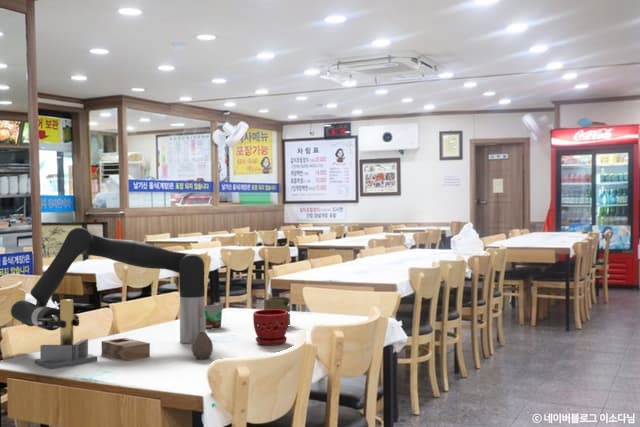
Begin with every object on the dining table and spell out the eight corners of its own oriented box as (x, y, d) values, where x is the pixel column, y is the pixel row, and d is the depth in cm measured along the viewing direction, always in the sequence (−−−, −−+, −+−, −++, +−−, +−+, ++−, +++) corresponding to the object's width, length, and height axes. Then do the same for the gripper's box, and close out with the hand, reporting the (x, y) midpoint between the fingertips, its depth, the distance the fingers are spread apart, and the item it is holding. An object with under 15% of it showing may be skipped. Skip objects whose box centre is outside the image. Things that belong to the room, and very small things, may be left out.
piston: (258, 299, 289) (274, 296, 299) (258, 326, 289) (274, 323, 299) (279, 300, 283) (295, 297, 293) (279, 329, 283) (295, 325, 293)
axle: (75, 353, 223) (75, 299, 223) (71, 356, 219) (70, 300, 219) (62, 353, 223) (62, 299, 223) (58, 356, 219) (58, 300, 219)
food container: (217, 330, 282) (217, 306, 282) (203, 329, 283) (203, 305, 283) (227, 325, 294) (227, 302, 294) (214, 325, 295) (214, 302, 295)
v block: (98, 361, 223) (98, 341, 223) (50, 369, 211) (50, 348, 211) (81, 356, 231) (81, 337, 231) (34, 364, 219) (34, 344, 219)
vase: (203, 361, 222) (202, 334, 222) (187, 359, 225) (187, 332, 225) (217, 357, 227) (216, 331, 227) (201, 355, 231) (201, 329, 231)
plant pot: (248, 341, 255) (248, 310, 255) (281, 339, 261) (281, 308, 261) (259, 347, 243) (259, 314, 243) (293, 345, 249) (293, 312, 249)
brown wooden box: (101, 354, 234) (101, 341, 234) (124, 350, 240) (124, 337, 240) (126, 360, 223) (126, 347, 223) (149, 356, 229) (149, 343, 229)
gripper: (26, 309, 225) (49, 314, 213) (67, 305, 236) (91, 309, 224) (26, 331, 225) (49, 338, 213) (67, 326, 236) (91, 332, 224)
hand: (71, 323), depth 219 cm, fingers closed on axle, 4 cm apart
